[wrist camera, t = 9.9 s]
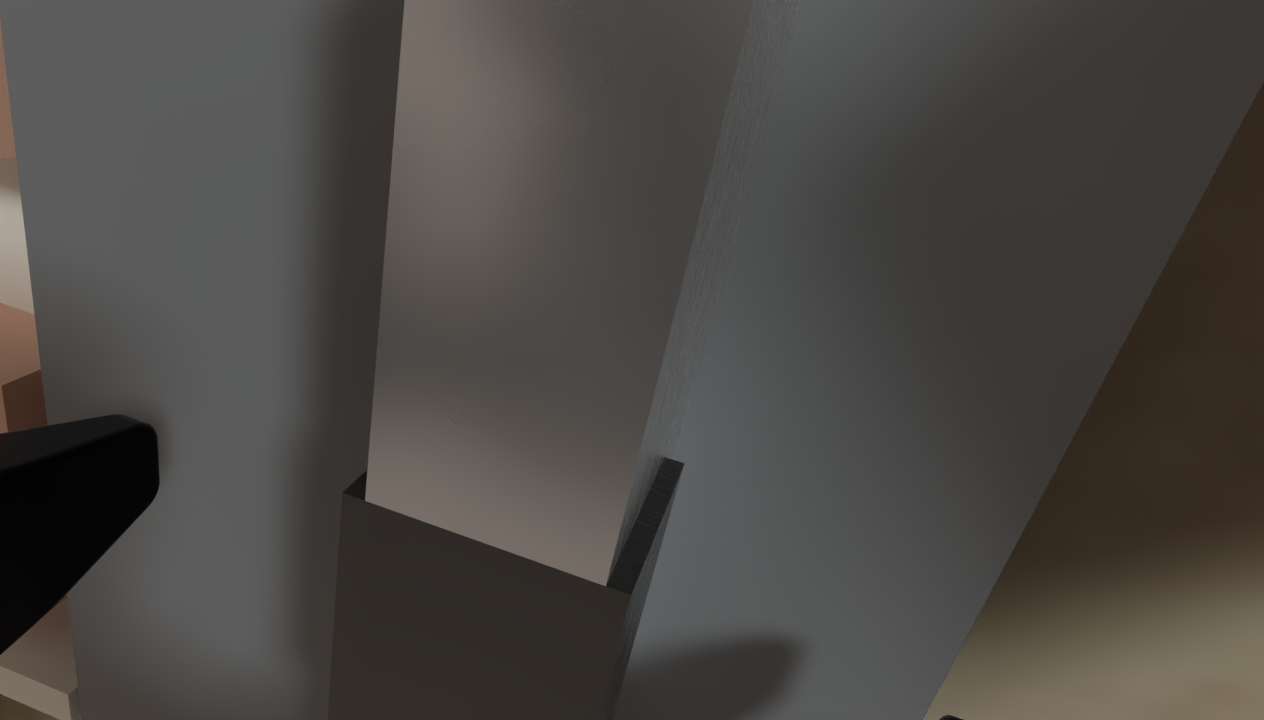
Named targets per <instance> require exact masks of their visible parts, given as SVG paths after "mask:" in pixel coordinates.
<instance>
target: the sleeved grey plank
mask: <svg viewBox="0 0 1264 720" xmlns="http://www.w3.org/2000/svg"><path fill="white" fill-rule="evenodd" d="M801 3H802V0H405V1H404V13H403V26H402V39H401V51H400V64H399V76H398V89H397V102H396V114H395V127H394V140H393V152H392V165H391V178H390V190H389V203H388V216H387V228H386V241H385V254H384V266H383V279H382V292H381V304H380V317H379V329H378V342H377V355H376V367H375V380H374V393H373V405H372V418H371V431H370V443H369V456H368V469H367V471H365V472H364V473H363V474H362V475H361V476H360V477H359V478H358V479H357V480H356V481H354V482H353V483H352V484H351V485H350V486H349V487H348V488H347V489H346V490H344V491H343V492H342V502H341V518H340V534H339V549H338V565H337V581H336V597H335V612H334V628H333V644H332V659H331V675H330V691H329V706H328V720H612V718H613V715H614V711H615V708H616V704H617V700H618V697H619V693H620V690H621V686H622V683H623V679H624V676H625V672H626V669H627V665H628V662H629V658H630V655H631V651H632V647H633V644H634V640H635V637H636V633H637V630H638V626H639V623H640V619H641V616H642V612H643V609H644V605H645V601H646V598H647V594H648V591H649V587H650V584H651V580H652V577H653V573H654V570H655V566H656V563H657V559H658V555H659V552H660V548H661V545H662V541H663V538H664V534H665V531H666V527H667V524H668V520H669V517H670V513H671V509H672V506H673V502H674V499H675V495H676V492H677V488H678V485H679V481H680V478H681V474H682V471H683V467H684V464H685V463H682V462H679V461H676V460H675V459H676V456H677V452H678V449H679V445H680V441H681V438H682V434H683V430H684V427H685V423H686V420H687V416H688V412H689V409H690V405H691V402H692V398H693V394H694V391H695V387H696V383H697V380H698V376H699V373H700V369H701V365H702V362H703V358H704V354H705V351H706V347H707V344H708V340H709V336H710V333H711V329H712V325H713V322H714V318H715V315H716V311H717V307H718V304H719V300H720V297H721V293H722V289H723V286H724V282H725V278H726V275H727V271H728V268H729V264H730V260H731V257H732V253H733V249H734V246H735V242H736V239H737V235H738V231H739V228H740V224H741V220H742V217H743V213H744V210H745V206H746V202H747V199H748V195H749V192H750V188H751V184H752V181H753V177H754V173H755V170H756V166H757V163H758V159H759V155H760V152H761V148H762V144H763V141H764V137H765V134H766V130H767V126H768V123H769V119H770V116H771V112H772V108H773V105H774V101H775V97H776V94H777V90H778V87H779V83H780V79H781V76H782V72H783V68H784V65H785V61H786V58H787V54H788V50H789V47H790V43H791V39H792V36H793V32H794V29H795V25H796V21H797V18H798V14H799V11H800V7H801Z"/></svg>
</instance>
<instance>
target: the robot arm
mask: <svg viewBox="0 0 1264 720" xmlns="http://www.w3.org/2000/svg"><path fill="white" fill-rule="evenodd" d="M159 486H160V472H159V450H158V435H157V432H156V430H155V429H154V427H153V426H151V425H150V424H148V423H146V422H143V421H141V420H138V419H135V418H132V417H130V416H127V415H122V414H112V415H106V416H100V417H94V418H88V419H82V420H77V421H71V422H65V423H59V424H53V425H47V426H41V427H35V428H29V429H23V430H17V431H11V432H5V433H0V655H1V654H3V653H4V652H5V651H6V650H7V649H8V648H9V647H10V646H12V645H13V644H14V643H15V642H16V641H17V640H18V639H19V638H21V637H22V636H23V635H24V634H25V633H26V632H27V631H28V630H29V629H31V628H32V627H33V626H34V625H35V624H36V623H37V622H38V621H39V620H40V619H42V618H43V617H44V616H45V615H46V614H47V613H48V612H49V611H50V610H51V609H52V608H53V607H54V606H55V605H56V604H57V603H58V602H59V601H60V600H61V599H62V598H63V597H64V596H65V595H66V594H67V593H68V592H69V591H70V590H71V589H72V588H73V587H74V586H75V585H76V584H77V583H78V582H79V580H80V579H81V578H82V577H83V576H84V575H85V574H86V573H87V572H88V571H89V570H90V569H91V568H92V567H93V566H94V564H95V563H96V562H97V561H98V560H99V559H100V558H101V557H102V556H103V555H104V554H105V553H106V552H107V551H108V550H109V548H110V547H111V546H112V545H113V544H114V543H115V542H116V541H117V540H118V539H119V538H120V537H121V536H122V535H123V534H124V532H125V531H126V530H127V529H128V528H129V527H130V526H131V525H132V524H133V523H134V522H135V521H136V520H137V519H138V518H139V516H140V515H141V514H142V513H143V512H144V511H145V510H146V509H147V508H148V507H149V506H150V504H151V503H152V502H153V500H154V499H155V497H156V495H157V492H158V490H159ZM940 720H963V719H960V718H957V717H954V716H951V715H947V716H943V717H942V718H941V719H940Z"/></svg>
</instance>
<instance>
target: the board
mask: <svg viewBox="0 0 1264 720" xmlns="http://www.w3.org/2000/svg"><path fill="white" fill-rule="evenodd" d="M404 1H405V0H0V23H1V32H2V40H3V49H4V57H5V66H6V74H7V83H8V92H9V100H10V109H11V117H12V126H13V134H14V143H15V152H16V160H17V169H18V177H19V186H20V194H21V203H22V211H23V220H24V229H25V237H26V246H27V254H28V263H29V271H30V280H31V289H32V297H33V306H34V314H35V323H36V331H37V340H38V349H39V357H40V366H41V374H42V383H43V391H44V400H45V409H46V417H47V425H53V424H59V423H65V422H71V421H77V420H82V419H88V418H94V417H100V416H106V415H112V414H122V415H127V416H130V417H132V418H135V419H138V420H141V421H143V422H146V423H148V424H150V425H151V426H153V427H154V429H155V430H156V432H157V435H158V450H159V472H160V486H159V490H158V492H157V495H156V497H155V499H154V500H153V502H152V503H151V504H150V506H149V507H148V508H147V509H146V510H145V511H144V512H143V513H142V514H141V515H140V516H139V518H138V519H137V520H136V521H135V522H134V523H133V524H132V525H131V526H130V527H129V528H128V529H127V530H126V531H125V532H124V534H123V535H122V536H121V537H120V538H119V539H118V540H117V541H116V542H115V543H114V544H113V545H112V546H111V547H110V548H109V550H108V551H107V552H106V553H105V554H104V555H103V556H102V557H101V558H100V559H99V560H98V561H97V562H96V563H95V564H94V566H93V567H92V568H91V569H90V570H89V571H88V572H87V573H86V574H85V575H84V576H83V577H82V578H81V579H80V580H79V582H78V583H77V584H76V585H75V586H74V587H73V588H72V589H71V590H70V591H69V592H68V593H67V597H68V606H69V614H70V623H71V631H72V640H73V648H74V657H75V666H76V674H77V683H78V691H79V700H80V708H81V717H82V720H328V706H329V691H330V675H331V659H332V644H333V628H334V612H335V597H336V581H337V565H338V549H339V534H340V518H341V502H342V492H343V491H344V490H346V489H347V488H348V487H349V486H350V485H351V484H352V483H353V482H354V481H356V480H357V479H358V478H359V477H360V476H361V475H362V474H363V473H364V472H365V471H367V469H368V456H369V443H370V431H371V418H372V405H373V393H374V380H375V367H376V355H377V342H378V329H379V317H380V304H381V292H382V279H383V266H384V254H385V241H386V228H387V216H388V203H389V190H390V178H391V165H392V152H393V140H394V127H395V114H396V102H397V89H398V76H399V64H400V51H401V39H402V26H403V13H404ZM1263 83H1264V0H802V3H801V7H800V11H799V14H798V18H797V21H796V25H795V29H794V32H793V36H792V39H791V43H790V47H789V50H788V54H787V58H786V61H785V65H784V68H783V72H782V76H781V79H780V83H779V87H778V90H777V94H776V97H775V101H774V105H773V108H772V112H771V116H770V119H769V123H768V126H767V130H766V134H765V137H764V141H763V144H762V148H761V152H760V155H759V159H758V163H757V166H756V170H755V173H754V177H753V181H752V184H751V188H750V192H749V195H748V199H747V202H746V206H745V210H744V213H743V217H742V220H741V224H740V228H739V231H738V235H737V239H736V242H735V246H734V249H733V253H732V257H731V260H730V264H729V268H728V271H727V275H726V278H725V282H724V286H723V289H722V293H721V297H720V300H719V304H718V307H717V311H716V315H715V318H714V322H713V325H712V329H711V333H710V336H709V340H708V344H707V347H706V351H705V354H704V358H703V362H702V365H701V369H700V373H699V376H698V380H697V383H696V387H695V391H694V394H693V398H692V402H691V405H690V409H689V412H688V416H687V420H686V423H685V427H684V430H683V434H682V438H681V441H680V445H679V449H678V452H677V456H676V459H675V460H676V461H679V462H682V463H685V464H684V467H683V471H682V474H681V478H680V481H679V485H678V488H677V492H676V495H675V499H674V502H673V506H672V509H671V513H670V517H669V520H668V524H667V527H666V531H665V534H664V538H663V541H662V545H661V548H660V552H659V555H658V559H657V563H656V566H655V570H654V573H653V577H652V580H651V584H650V587H649V591H648V594H647V598H646V601H645V605H644V609H643V612H642V616H641V619H640V623H639V626H638V630H637V633H636V637H635V640H634V644H633V647H632V651H631V655H630V658H629V662H628V665H627V669H626V672H625V676H624V679H623V683H622V686H621V690H620V693H619V697H618V700H617V704H616V708H615V711H614V715H613V718H612V720H923V718H924V716H925V714H926V712H927V710H928V709H929V707H930V705H931V703H932V701H933V699H934V697H935V695H936V694H937V692H938V690H939V688H940V686H941V684H942V682H943V681H944V679H945V677H946V675H947V673H948V671H949V669H950V667H951V666H952V664H953V662H954V660H955V658H956V656H957V654H958V652H959V651H960V649H961V647H962V645H963V643H964V641H965V639H966V638H967V636H968V634H969V632H970V630H971V628H972V626H973V624H974V623H975V621H976V619H977V617H978V615H979V613H980V611H981V610H982V608H983V606H984V604H985V602H986V600H987V598H988V596H989V595H990V593H991V591H992V589H993V587H994V585H995V583H996V581H997V580H998V578H999V576H1000V574H1001V572H1002V570H1003V568H1004V567H1005V565H1006V563H1007V561H1008V559H1009V557H1010V555H1011V553H1012V552H1013V550H1014V548H1015V546H1016V544H1017V542H1018V540H1019V539H1020V537H1021V535H1022V533H1023V531H1024V529H1025V527H1026V525H1027V524H1028V522H1029V520H1030V518H1031V516H1032V514H1033V512H1034V510H1035V509H1036V507H1037V505H1038V503H1039V501H1040V499H1041V497H1042V496H1043V494H1044V492H1045V490H1046V488H1047V486H1048V484H1049V482H1050V481H1051V479H1052V477H1053V475H1054V473H1055V471H1056V469H1057V468H1058V466H1059V464H1060V462H1061V460H1062V458H1063V456H1064V454H1065V453H1066V451H1067V449H1068V447H1069V445H1070V443H1071V441H1072V439H1073V438H1074V436H1075V434H1076V432H1077V430H1078V428H1079V426H1080V425H1081V423H1082V421H1083V419H1084V417H1085V415H1086V413H1087V411H1088V410H1089V408H1090V406H1091V404H1092V402H1093V400H1094V398H1095V396H1096V395H1097V393H1098V391H1099V389H1100V387H1101V385H1102V383H1103V382H1104V380H1105V378H1106V376H1107V374H1108V372H1109V370H1110V368H1111V367H1112V365H1113V363H1114V361H1115V359H1116V357H1117V355H1118V354H1119V352H1120V350H1121V348H1122V346H1123V344H1124V342H1125V340H1126V339H1127V337H1128V335H1129V333H1130V331H1131V329H1132V327H1133V325H1134V324H1135V322H1136V320H1137V318H1138V316H1139V314H1140V312H1141V311H1142V309H1143V307H1144V305H1145V303H1146V301H1147V299H1148V297H1149V296H1150V294H1151V292H1152V290H1153V288H1154V286H1155V284H1156V283H1157V281H1158V279H1159V277H1160V275H1161V273H1162V271H1163V269H1164V268H1165V266H1166V264H1167V262H1168V260H1169V258H1170V256H1171V254H1172V253H1173V251H1174V249H1175V247H1176V245H1177V243H1178V241H1179V240H1180V238H1181V236H1182V234H1183V232H1184V230H1185V228H1186V226H1187V225H1188V223H1189V221H1190V219H1191V217H1192V215H1193V213H1194V211H1195V210H1196V208H1197V206H1198V204H1199V202H1200V200H1201V198H1202V197H1203V195H1204V193H1205V191H1206V189H1207V187H1208V185H1209V183H1210V182H1211V180H1212V178H1213V176H1214V174H1215V172H1216V170H1217V169H1218V167H1219V165H1220V163H1221V161H1222V159H1223V157H1224V155H1225V154H1226V152H1227V150H1228V148H1229V146H1230V144H1231V142H1232V140H1233V139H1234V137H1235V135H1236V133H1237V131H1238V129H1239V127H1240V126H1241V124H1242V122H1243V120H1244V118H1245V116H1246V114H1247V112H1248V111H1249V109H1250V107H1251V105H1252V103H1253V101H1254V99H1255V98H1256V96H1257V94H1258V92H1259V90H1260V88H1261V86H1262V84H1263Z"/></svg>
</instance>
